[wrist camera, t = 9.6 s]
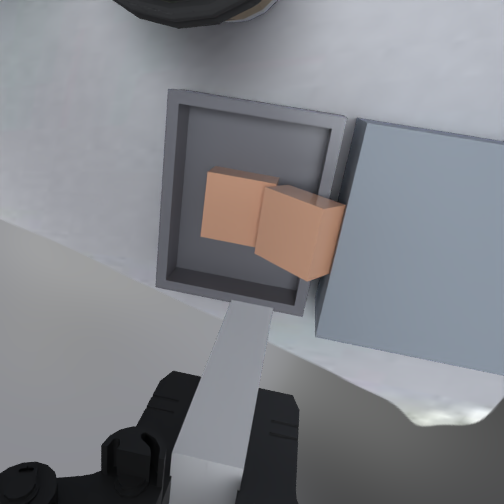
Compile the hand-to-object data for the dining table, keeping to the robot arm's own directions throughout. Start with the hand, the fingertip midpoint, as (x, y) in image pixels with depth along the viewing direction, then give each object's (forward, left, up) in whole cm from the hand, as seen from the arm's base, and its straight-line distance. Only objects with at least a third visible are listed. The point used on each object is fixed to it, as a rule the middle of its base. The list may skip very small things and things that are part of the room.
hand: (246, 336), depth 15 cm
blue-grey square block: (+11, 0, -19) cm, 22 cm away
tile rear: (-3, 0, -16) cm, 16 cm away
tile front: (+2, 0, -16) cm, 16 cm away
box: (-3, 0, -19) cm, 19 cm away
